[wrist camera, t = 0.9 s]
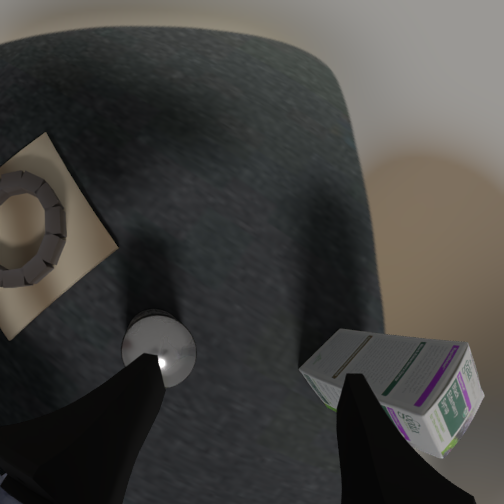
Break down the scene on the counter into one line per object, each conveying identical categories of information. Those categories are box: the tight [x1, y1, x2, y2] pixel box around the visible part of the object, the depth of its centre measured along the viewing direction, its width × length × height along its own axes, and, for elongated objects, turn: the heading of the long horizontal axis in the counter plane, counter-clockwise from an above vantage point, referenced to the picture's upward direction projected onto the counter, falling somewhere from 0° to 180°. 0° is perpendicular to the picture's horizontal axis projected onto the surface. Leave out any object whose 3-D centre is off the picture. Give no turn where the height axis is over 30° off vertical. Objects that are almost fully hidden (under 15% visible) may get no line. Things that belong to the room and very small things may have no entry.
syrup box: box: [299, 329, 484, 459], centre depth 21 cm, size 6×6×14 cm
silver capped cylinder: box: [121, 309, 197, 388], centre depth 20 cm, size 4×4×6 cm
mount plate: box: [0, 132, 118, 341], centre depth 19 cm, size 12×12×3 cm
